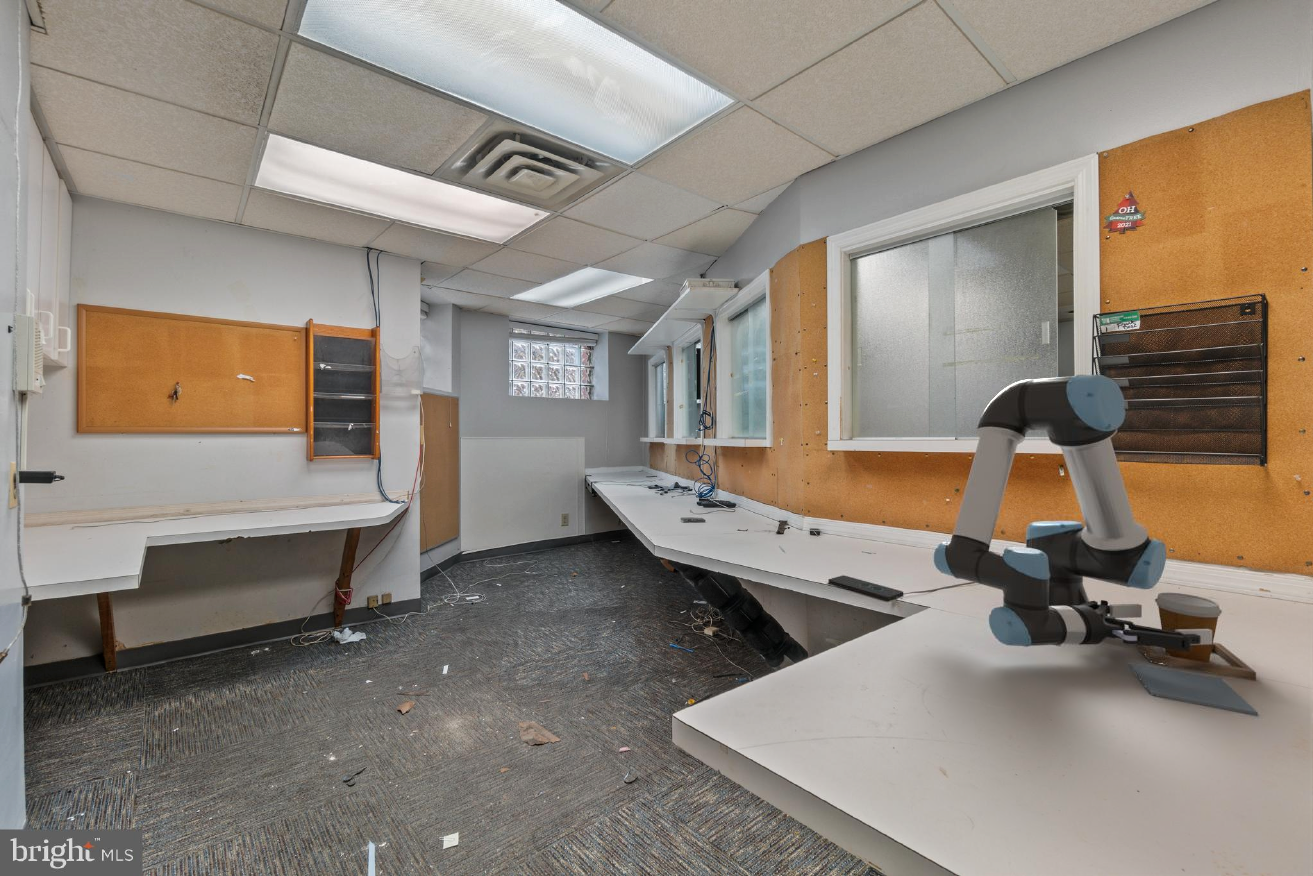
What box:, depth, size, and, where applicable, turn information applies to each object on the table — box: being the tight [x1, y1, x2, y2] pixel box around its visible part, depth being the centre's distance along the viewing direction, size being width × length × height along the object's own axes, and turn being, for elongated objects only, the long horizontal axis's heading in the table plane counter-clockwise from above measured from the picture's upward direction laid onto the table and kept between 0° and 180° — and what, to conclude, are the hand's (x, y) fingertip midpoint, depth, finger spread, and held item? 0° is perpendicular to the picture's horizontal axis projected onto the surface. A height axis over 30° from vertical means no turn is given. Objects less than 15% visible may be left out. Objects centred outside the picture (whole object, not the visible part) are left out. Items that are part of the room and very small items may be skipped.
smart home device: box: [828, 575, 904, 602], centre depth 149 cm, size 8×2×20 cm
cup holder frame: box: [1136, 641, 1257, 681], centre depth 104 cm, size 14×14×2 cm
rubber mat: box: [1128, 662, 1259, 716], centre depth 92 cm, size 13×13×1 cm
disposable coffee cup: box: [1154, 592, 1223, 663], centre depth 104 cm, size 10×10×12 cm
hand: (1172, 622), depth 103 cm, fingers open, 13 cm apart
